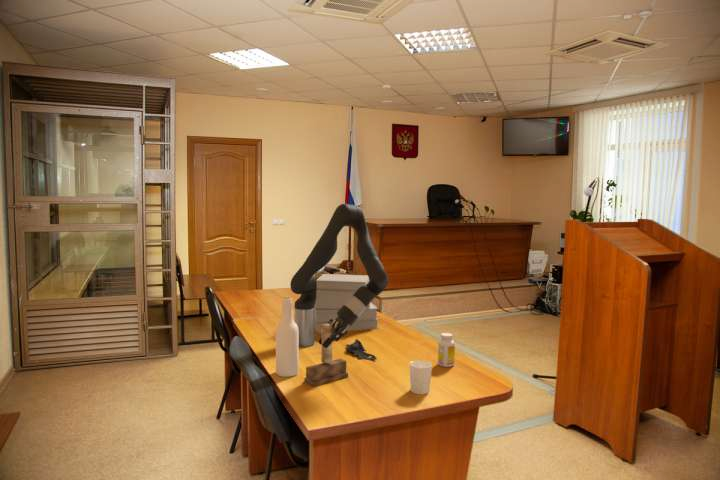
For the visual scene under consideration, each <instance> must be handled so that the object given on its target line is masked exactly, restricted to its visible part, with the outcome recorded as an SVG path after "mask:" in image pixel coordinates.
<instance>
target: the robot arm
mask: <svg viewBox="0 0 720 480" xmlns="http://www.w3.org/2000/svg"><path fill="white" fill-rule="evenodd" d="M344 227H349V228H350V227H351V228H353V230H354V231H355V233H356V237H357V238H356V239H357V240H356V241H357V242H356V253H357V255H358V258H359V259H360V261H361V264H362V266H363V267H364V269H365V272H366V275H368V277H369V279H370V281H369V282H368V283H367V284H366V285H365V286H361V287H360V288H359V289H358V290H357V291H356V292H355V293H354V294H353V296H352V297H351V298H349V299H348V300H347V301H346V303H345V304H344V305H343V306H342V307H341V308H340V310H339V311H338V312H337V315H338V317H337V318H336V319H335V320H332V319H330V320H329V322H328V324H332V331H331V332H332V333H331V334H330V336H329V338H327V339H326V340H325V342H324V343H323V344H322V336H321V337H320V338H319V339H318V340H317V343H318V344H319V345H320V346H321V347H322V346H323V347H324V348H328V346H329V345H330V344H331V343H332V344H333V342H338V341H339V340H341V339H342V338H343V337H344V336H345V335H346V334H347V333H348V332H349V331H348V330H347V329H346V327H347V325H349V326H352V325H353V323H354V322H355V321H356V320H357V319H358V318H359V316H360V315H361V314H362V313H363V311H364V310H365V308H366V307H367V306H368V305H369V304H370V302H371V303H372V301H373V300H374V299H375V298H377V296H379V295H380V294H381V293H382V292H383V291H384V290H385V289H386V288H387V287H388V285H389V276H388V273H387V271H386V270H385V267H384V265H383V264H382V261H381V260H380V257H379V255H378V253H377V251H376V249H375V246H374V244H373V241H372V240H371V236H370V232H369V229H368V225H367V222H366V217H365V214H364V212H363V210H362V208H361V207H360V206H359V205H355V204H349V203H341V204H339V205H338V206H337V207H336V209H335V210H334V212H333V214H332V216H331V217H330V220H329V222H328V224H327V226H326V228H325V229H324V231H323V232H322V234H321V236H320V238H319V239H318V240H317V242H316V243H315V245H314V247H313V248H312V250H311V252H310V253H309V254H308V256H307V258H306V259H305V261H304V262H303V263H302V265H301V266H300V268H299V269H298V270H297V271H296V272H295V273H294V275H293V276H292V278H291V280H290V290H291V292H292V293H294V294H295V295H300V296H299V298H298V299H297V300H295V301H294V305H293V306H294V307H293V308H294V322H295V323H296V324H297V326H298V330H299V347H304V348H305V347H311V346H314V345H315V329H314V305H315V302H316V293H317V281H316V280H317V279H316V278H317V277H316V276H315V274H316V273H318V272H319V271H320V270H322V269H323V268H324V267H325V266H326V265H328V264H329V263H330V262H331V260H332V259H333V257H334V256H335V254H336V253H337V250H338V236H339V234H340V232H341V231H342V230H343V229H344Z"/></svg>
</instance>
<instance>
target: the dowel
mask: <svg viewBox="0 0 720 480" xmlns="http://www.w3.org/2000/svg"><path fill="white" fill-rule="evenodd" d="M331 331H332V324H322V334H321V337H322V344H323V343H324V342H325V340H326V339H327V338H329V336H330V334H331V333H332V332H331ZM332 361H333V342H332V343H331V344H330V345H329V346H328V348H324V347H323V346H322V345H321V363H331V362H332Z"/></svg>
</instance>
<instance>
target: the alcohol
mask: <svg viewBox="0 0 720 480" xmlns="http://www.w3.org/2000/svg"><path fill="white" fill-rule="evenodd" d="M280 315H281V317H280V322H279V323H278V324H277V325H276V329H275V373H276V374H277V376H279V377H280V378H281V377H282V378H292V377H295V376H297V375H298V373H299V367H300V365H299V360H300V359H299V356H300V355H299V354H300V352H299V350H300V349H299V347H300V346H299V330H298V326H297V324H296V323H295V319H294V312H293V298H292V297H290V296H289V297H282V299H281V314H280Z"/></svg>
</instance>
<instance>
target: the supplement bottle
mask: <svg viewBox="0 0 720 480" xmlns="http://www.w3.org/2000/svg"><path fill="white" fill-rule="evenodd" d="M453 336H454V335H453V334H452V333H450V332H443V333H441V334H440V338H441V339H439V341H438V352H437V355H438V356H437V357H438V358H437V364H438V365H439V366H441V367H445V368H450V367H453V366H455V348H456V343H455V341H454V340H453Z"/></svg>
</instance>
